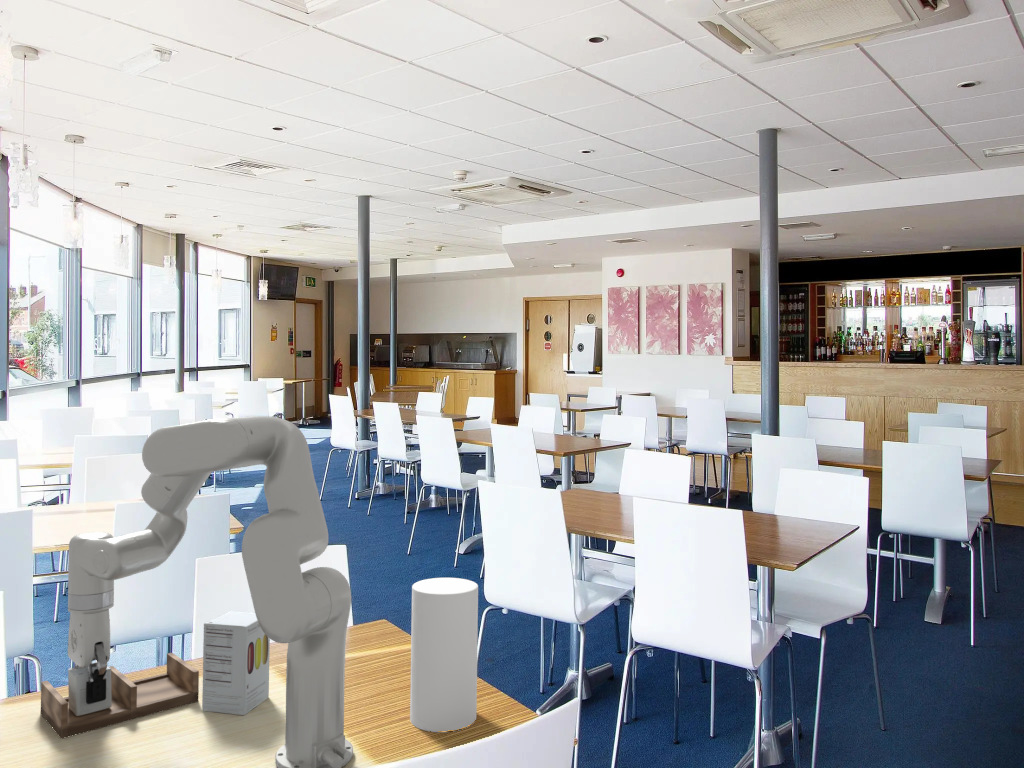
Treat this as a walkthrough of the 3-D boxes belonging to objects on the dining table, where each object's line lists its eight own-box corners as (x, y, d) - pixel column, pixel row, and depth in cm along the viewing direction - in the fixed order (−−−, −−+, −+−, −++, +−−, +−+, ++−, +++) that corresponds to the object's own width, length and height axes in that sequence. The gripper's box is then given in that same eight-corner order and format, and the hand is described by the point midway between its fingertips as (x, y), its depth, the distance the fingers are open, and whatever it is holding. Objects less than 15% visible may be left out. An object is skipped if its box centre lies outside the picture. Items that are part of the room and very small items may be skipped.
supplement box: (244, 716, 146) (245, 626, 146) (200, 711, 148) (201, 623, 148) (270, 696, 155) (271, 612, 155) (228, 692, 157) (229, 609, 157)
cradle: (198, 701, 152) (198, 670, 152) (61, 738, 135) (61, 704, 136) (171, 681, 162) (171, 652, 162) (40, 713, 146) (41, 681, 146)
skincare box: (112, 707, 144) (112, 668, 145) (75, 717, 140) (75, 676, 140) (103, 698, 149) (102, 660, 149) (67, 707, 145) (67, 668, 145)
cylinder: (489, 714, 148) (491, 583, 148) (449, 738, 138) (451, 598, 138) (438, 699, 155) (439, 574, 155) (396, 721, 144) (398, 587, 145)
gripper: (56, 594, 148) (54, 687, 148) (82, 614, 136) (81, 716, 136) (98, 587, 153) (97, 677, 153) (128, 606, 141) (126, 704, 141)
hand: (89, 694), depth 144 cm, fingers open, 6 cm apart
